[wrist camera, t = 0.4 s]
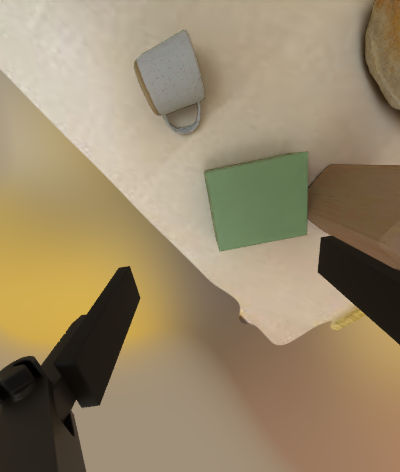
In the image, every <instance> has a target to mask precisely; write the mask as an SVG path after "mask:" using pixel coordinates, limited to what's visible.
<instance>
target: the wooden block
mask: <svg viewBox="0 0 400 472" xmlns="http://www.w3.org/2000/svg"><path fill="white" fill-rule="evenodd" d="M307 218H308V219H309V220H310V221H311V222H313V223H314V224H315V225H316V226H318V227H319V228H320V229H321V230H322V231H324V232H326V233H328V234H330V235H332V236H334V237H336V238H338V239H340V240H342V241H343V242H345V243H347V244H349V245H351V246H353V247H355V248H357V249H358V250H360V251H362V252H364V253H366V254H368V255H370V256H372V257H373V258H375V259H377V260H379V261H381V262H383V263H385V264H387V265H389V266H391V267H392V268H394V269H398V270H400V165H338V164H332V165H330V166H328V167H327V168H326V169H325V170H324V171H323V172H322V173H321V174H320V176H319V177H318V178H317V179H316V180H315V181H314V182H313V184H312V185H311V186H310V187H309V188H308V200H307Z"/></svg>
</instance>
